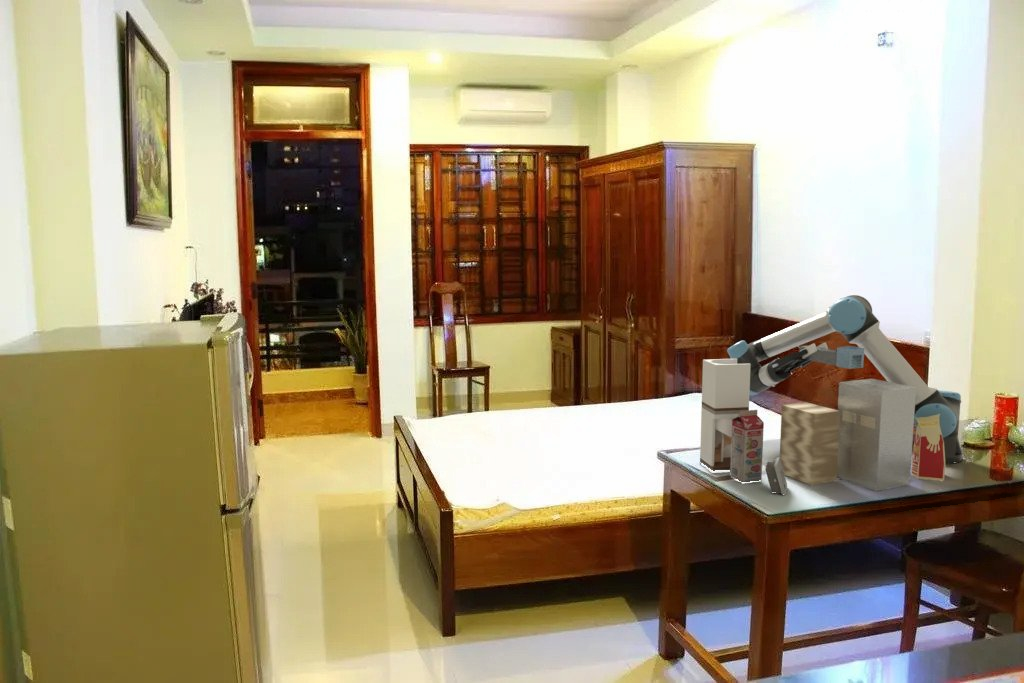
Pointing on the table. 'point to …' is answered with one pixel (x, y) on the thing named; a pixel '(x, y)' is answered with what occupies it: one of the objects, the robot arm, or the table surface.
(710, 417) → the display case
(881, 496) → the table surface
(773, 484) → the electrical switch
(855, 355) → the bar
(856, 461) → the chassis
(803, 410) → the birch block
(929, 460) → the milk carton
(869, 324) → the robot arm
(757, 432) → the juice carton
